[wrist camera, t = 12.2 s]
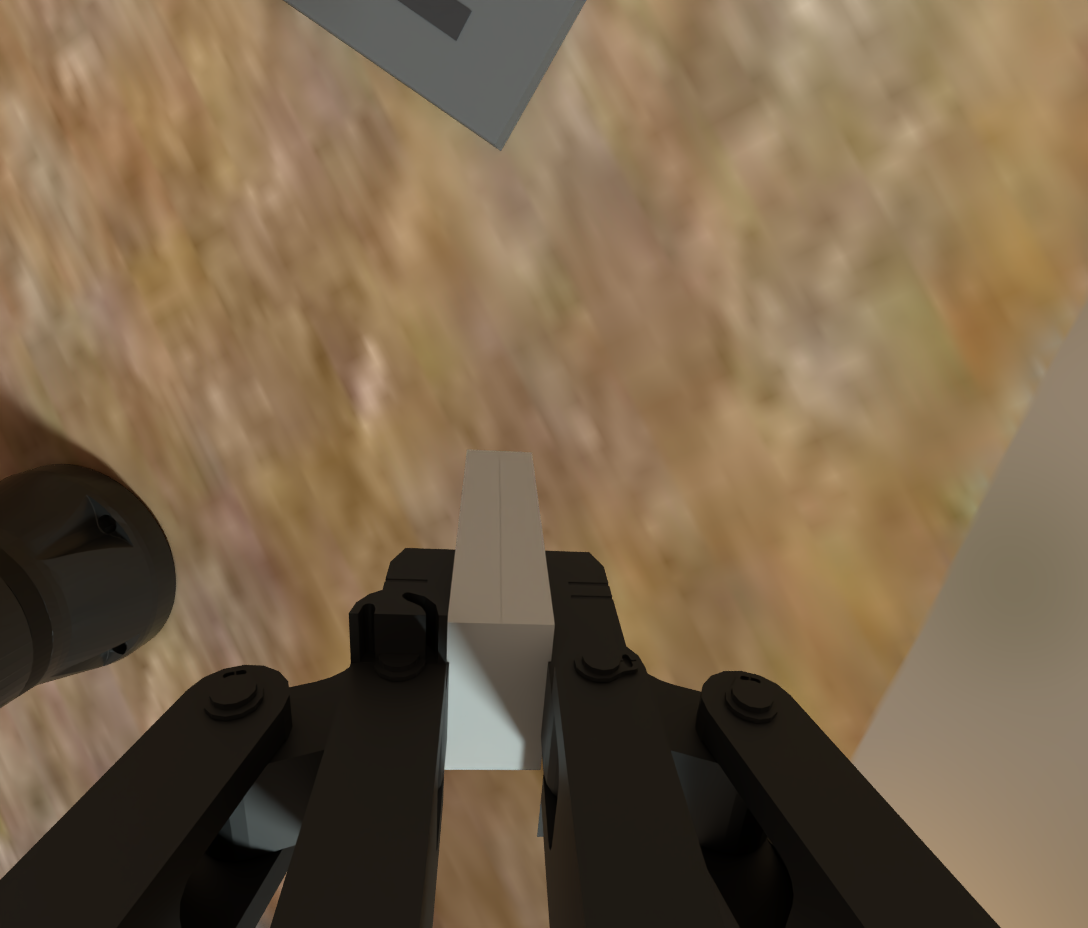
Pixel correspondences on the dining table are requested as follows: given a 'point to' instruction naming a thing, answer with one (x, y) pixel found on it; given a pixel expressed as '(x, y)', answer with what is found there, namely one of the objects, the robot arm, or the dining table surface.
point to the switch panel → (456, 50)
